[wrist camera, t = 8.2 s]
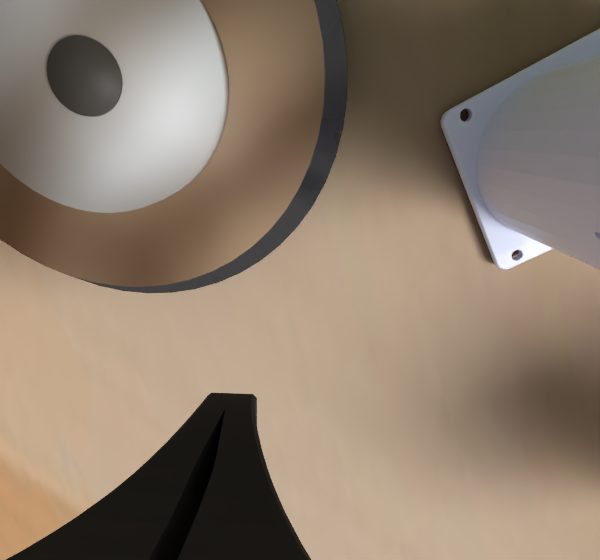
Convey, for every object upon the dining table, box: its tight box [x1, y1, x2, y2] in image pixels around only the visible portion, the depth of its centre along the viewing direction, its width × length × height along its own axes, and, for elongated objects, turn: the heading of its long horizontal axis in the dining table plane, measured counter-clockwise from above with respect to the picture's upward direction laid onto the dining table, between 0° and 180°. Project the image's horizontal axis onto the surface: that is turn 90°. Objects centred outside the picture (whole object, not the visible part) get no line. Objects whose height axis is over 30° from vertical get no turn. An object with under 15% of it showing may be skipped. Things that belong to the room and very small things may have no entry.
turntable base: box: [75, 0, 347, 293], centre depth 17 cm, size 18×18×1 cm
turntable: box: [0, 0, 325, 287], centre depth 14 cm, size 16×16×4 cm
